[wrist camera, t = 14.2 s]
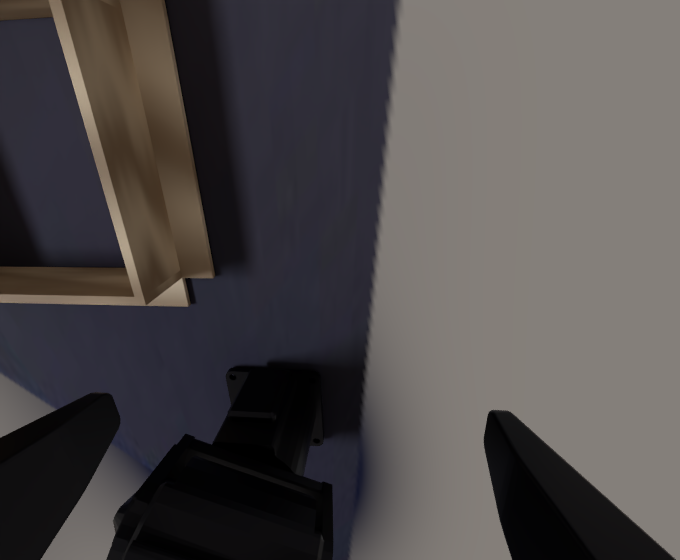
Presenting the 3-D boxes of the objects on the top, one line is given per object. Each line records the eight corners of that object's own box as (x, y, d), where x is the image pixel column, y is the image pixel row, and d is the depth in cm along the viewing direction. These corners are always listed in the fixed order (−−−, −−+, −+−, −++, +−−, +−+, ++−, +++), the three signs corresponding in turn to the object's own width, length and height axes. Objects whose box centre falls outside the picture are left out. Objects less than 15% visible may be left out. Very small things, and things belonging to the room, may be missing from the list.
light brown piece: (220, 304, 23) (190, 339, 19) (-30, 299, 24) (-102, 330, 21) (153, -61, 15) (83, -119, 12) (-194, -30, 17) (-348, -73, 13)
